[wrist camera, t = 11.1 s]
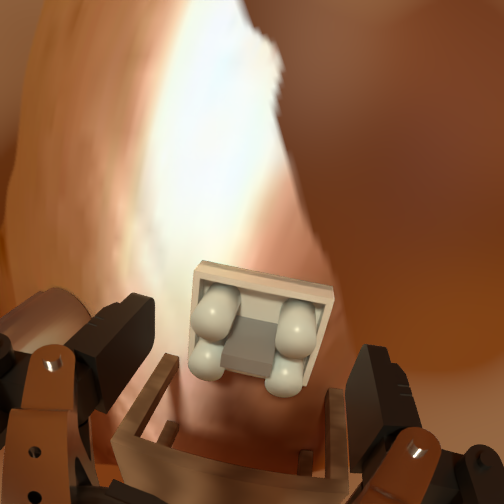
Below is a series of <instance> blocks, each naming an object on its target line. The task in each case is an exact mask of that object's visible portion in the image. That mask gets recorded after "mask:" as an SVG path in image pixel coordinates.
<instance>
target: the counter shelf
mask: <svg viewBox="0 0 504 504" xmlns="http://www.w3.org/2000/svg"><path fill="white" fill-rule="evenodd" d="M178 364H179V357H178V356H174V355H171V354H167V353H165V354H164V356H163V357H162V359H161V361H160V362H159V364H158V365H157V367H156V368H155V370H154V372H153V373H152V375H151V376H150V378H149V379H148V381H147V383H146V384H145V386H144V387H143V389H142V391H141V392H140V394H139V395H138V397H137V398H136V400H135V402H134V403H133V405H132V406H131V408H130V410H129V411H128V413H127V414H126V416H125V418H124V419H123V421H122V422H121V424H120V426H119V427H118V429H117V431H116V432H115V434H114V435H113V437H112V439H111V440H110V442H111V445H112V448H113V451H114V454H115V457H116V461H117V463H118V466H119V469H120V472H121V475H122V478H123V481H124V483H125V484H127V485H129V486H131V487H134V488H137V489H139V490H142V491H144V492H147V493H150V494H153V495H155V496H156V497H158V498H160V499H161V500H163V501H165V502H166V503H168V504H340V503H341V502H342V501H343V500H344V499H345V497H346V496H347V495H348V494H349V482H348V457H347V439H346V424H345V410H344V398H343V390H342V389H335V388H329V389H328V391H327V394H326V396H325V478H317V477H312V465H313V451H306V450H301V452H300V454H299V458H298V469H297V475H291V474H283V473H277V472H270V471H264V470H258V469H253V468H248V467H243V466H238V465H233V464H229V463H224V462H220V461H216V460H212V459H208V458H204V457H200V456H196V455H193V454H189V453H186V452H182V451H179V450H176V449H172V448H171V446H172V444H173V442H174V440H175V437H176V435H177V433H178V431H179V424H178V423H175V422H171V421H168V420H167V422H166V424H165V426H164V428H163V430H162V432H161V434H160V436H159V438H158V441H157V443H154V442H151V441H148V440H145V439H143V438H140V437H141V435H142V433H143V431H144V429H145V427H146V425H147V424H148V422H149V420H150V418H151V416H152V414H153V413H154V411H155V409H156V407H157V405H158V404H159V402H160V400H161V398H162V396H163V394H164V393H165V391H166V389H167V387H168V385H169V383H170V382H171V380H172V378H173V376H174V374H175V373H176V371H177V369H178Z"/></svg>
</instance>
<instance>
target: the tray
mask: <svg viewBox="0 0 504 504" xmlns="http://www.w3.org/2000/svg"><path fill="white" fill-rule="evenodd" d="M334 300H335V298H334V292H333V286H328V285H323V284H317V283H312V282H307V281H302V280H297V279H292V278H287V277H282V276H277V275H272V274H267V273H262V272H257V271H252V270H247V269H243V268H238V267H233V266H228V265H223V264H218V263H214V262H209V261H204V260H202V261H201V263H200V264H199V265H198V266H197V267H196V269H195V270H194V275H193V287H192V300H191V313H190V329H189V346H188V367H189V369H190V371H191V372H192V374H193V375H195V376H196V377H197V378H199V379H201V380H204V381H216V380H218V379H220V378H221V377H222V375H223V373H224V370H227V371H231V372H236V373H240V374H245V375H249V376H254V377H259V378H264V379H265V387H266V389H267V391H268V392H269V393H271V394H272V395H274V396H277V397H282V398H287V397H292V396H294V395H296V394H298V393H299V392H300V390H301V389H302V386H307V383H308V380H309V377H310V374H311V372H312V369H313V366H314V363H315V360H316V357H317V354H318V351H319V348H320V345H321V342H322V339H323V336H324V333H325V329H326V326H327V323H328V320H329V317H330V313H331V310H332V307H333V303H334Z"/></svg>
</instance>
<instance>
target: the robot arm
mask: <svg viewBox="0 0 504 504" xmlns="http://www.w3.org/2000/svg"><path fill="white" fill-rule="evenodd" d="M154 338H155V301H154V299H153V298H151V297H148V296H144V295H140V294H137V293H131V294H130V295H129V296H128V297H127V298H126V299H124V300H123V301H122V302H121V303H117V302H116V303H113V304H111V305H109V306H106V307H104V308H103V309H102V310H100V311H99V312H98V313H97V314H96V315H95V317H93V318H92V319H91V318H90V316H89V314H88V312H87V310H86V309H85V308H84V306H83V305H82V304H81V303H80V302H79V301H78V299H77V298H75V297H74V296H73V295H72V294H70V293H69V292H67V291H65V290H63V289H60V288H51V289H49V290H47V291H46V292H41V291H39V292H37V293H36V294H34V295H33V296H31V297H30V298H29V299H27V300H26V301H24V302H23V303H21V304H20V305H19V306H17V307H16V308H14V309H13V310H11V311H10V312H9V313H7V314H6V315H4V316H3V317H2V318H0V450H1V449H2V448H3V446H5V449H4V460H3V474H2V497H1V498H2V499H1V501H2V502H1V504H168V503H166V502H165V501H163V500H161V499H160V498H158V497H156V496H155V495H153V494H150V493H147V492H144V491H142V490H139V489H137V488H134V487H131V486H129V485H127V484H124V483H122V482H119V481H117V480H115V479H113V481H112V482H111V484H110V486H109V488H108V487H101V486H100V485H99V481H98V478H97V474H96V470H95V463H94V454H93V442H92V428H91V418H90V415H91V413H92V412H93V411H94V409H96V410H98V411H100V412H103V413H105V414H107V413H108V411H109V410H110V408H111V407H112V405H113V404H114V403H115V401H116V400H117V398H118V397H119V395H120V394H121V392H122V391H123V390H124V388H125V387H126V385H127V384H128V382H129V381H130V380H131V378H132V377H133V375H134V374H135V372H136V371H137V370H138V368H139V367H140V365H141V364H142V362H143V361H144V360H145V358H146V357H147V355H148V354H149V353H150V351H151V349H152V346H153V343H154ZM345 401H346V413H347V427H348V442H349V461H350V473H362V479H363V481H362V482H361V483H360V484H359V485H358V487H357V488H356V490H355V491H354V492H353V494H352V495H351V497H350V498H349V499H348V501H347V502H346V503H345V504H504V466H503V464H502V462H501V459H500V457H499V456H498V454H497V453H496V452H495V451H494V450H493V449H492V448H490V447H488V446H486V445H474V446H472V447H470V448H469V449H468V451H467V452H466V453H465V454H464V455H462V454H458V453H454V452H450V451H446V450H443V449H441V445H440V442H439V441H438V439H437V438H436V437H435V436H434V435H433V434H432V433H431V432H430V431H427V430H426V429H423V428H422V425H421V422H420V418H419V415H418V412H417V408H416V405H415V402H414V398H413V397H412V392H411V389H410V387H409V382H408V379H407V376H406V374H405V373H404V371H403V370H402V369H401V368H400V366H399V365H398V364H397V363H391V361H390V358H389V354H388V351H387V349H386V347H382V346H375V345H368V344H364V345H363V346H362V348H361V350H360V352H359V354H358V357H357V359H356V362H355V364H354V366H353V369H352V371H351V373H350V376H349V378H348V381H347V384H346V390H345Z"/></svg>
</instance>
